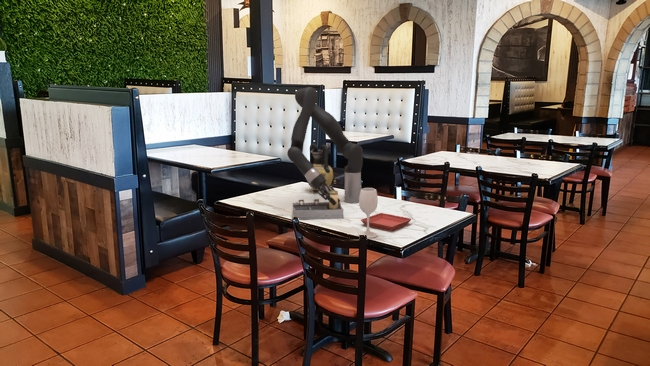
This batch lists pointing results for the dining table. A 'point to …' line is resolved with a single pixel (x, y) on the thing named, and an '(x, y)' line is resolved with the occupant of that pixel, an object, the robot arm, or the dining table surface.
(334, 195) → the lockout cap
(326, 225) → the dining table surface
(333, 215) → the push button box
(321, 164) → the amphora
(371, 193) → the wineglass
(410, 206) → the dining table surface
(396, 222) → the plant saucer
